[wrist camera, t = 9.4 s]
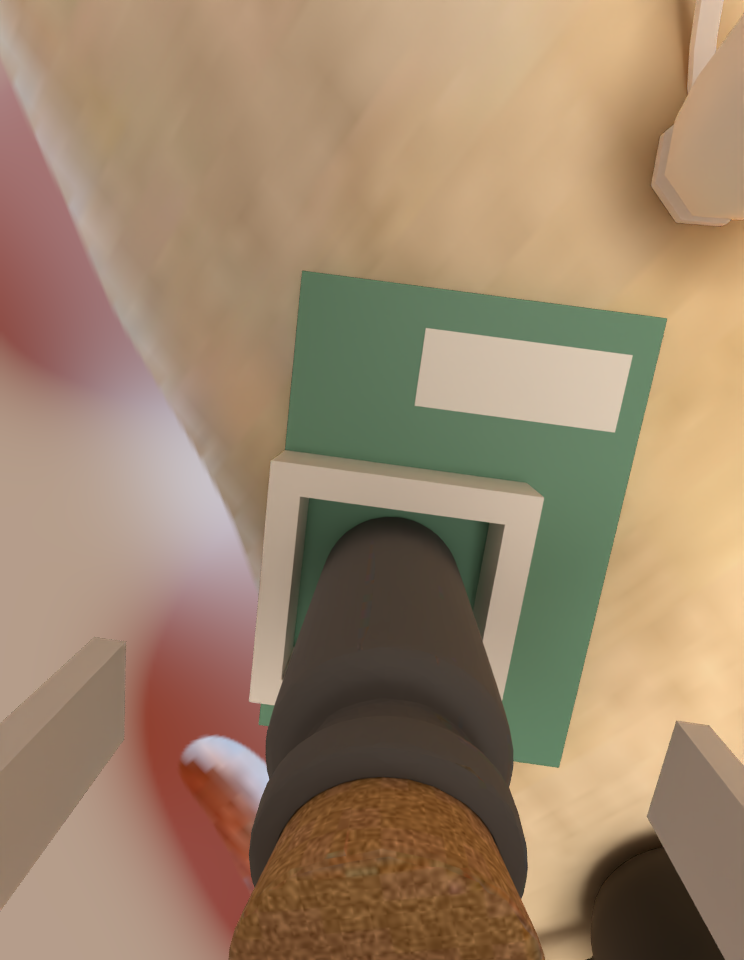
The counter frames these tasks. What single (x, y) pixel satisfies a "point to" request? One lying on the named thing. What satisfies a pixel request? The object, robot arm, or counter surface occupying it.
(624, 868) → the mug
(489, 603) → the board
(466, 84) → the counter surface
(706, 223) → the cup
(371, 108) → the counter surface
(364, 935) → the bottle
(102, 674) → the robot arm
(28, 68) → the counter surface
